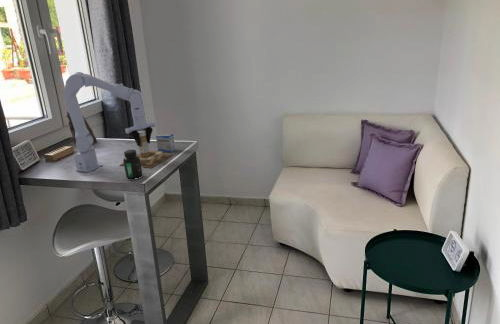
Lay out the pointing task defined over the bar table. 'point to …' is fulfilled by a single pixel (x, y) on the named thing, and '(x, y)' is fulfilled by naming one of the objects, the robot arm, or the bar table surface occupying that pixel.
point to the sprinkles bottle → (143, 145)
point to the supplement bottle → (132, 165)
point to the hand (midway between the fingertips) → (143, 144)
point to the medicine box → (165, 142)
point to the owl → (74, 129)
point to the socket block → (152, 159)
